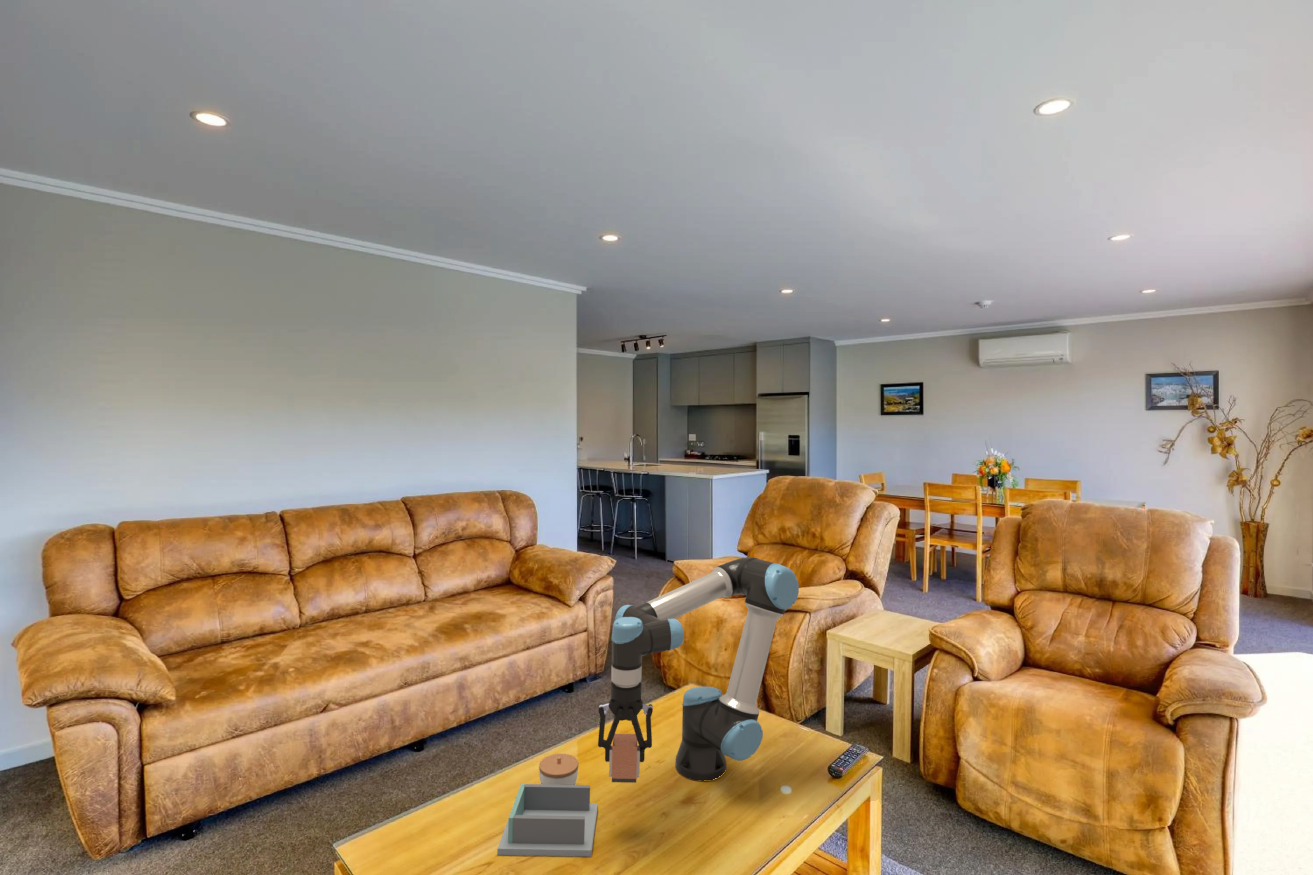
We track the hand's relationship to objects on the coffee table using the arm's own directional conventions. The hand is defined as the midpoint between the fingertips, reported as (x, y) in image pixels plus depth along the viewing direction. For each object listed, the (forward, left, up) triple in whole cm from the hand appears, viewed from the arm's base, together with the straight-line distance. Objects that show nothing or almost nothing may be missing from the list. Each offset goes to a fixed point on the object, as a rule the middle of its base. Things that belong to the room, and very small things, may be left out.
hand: (624, 773), depth 153 cm
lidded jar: (+19, -17, -15) cm, 29 cm away
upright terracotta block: (0, 0, -1) cm, 1 cm away
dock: (+18, 0, -15) cm, 23 cm away
